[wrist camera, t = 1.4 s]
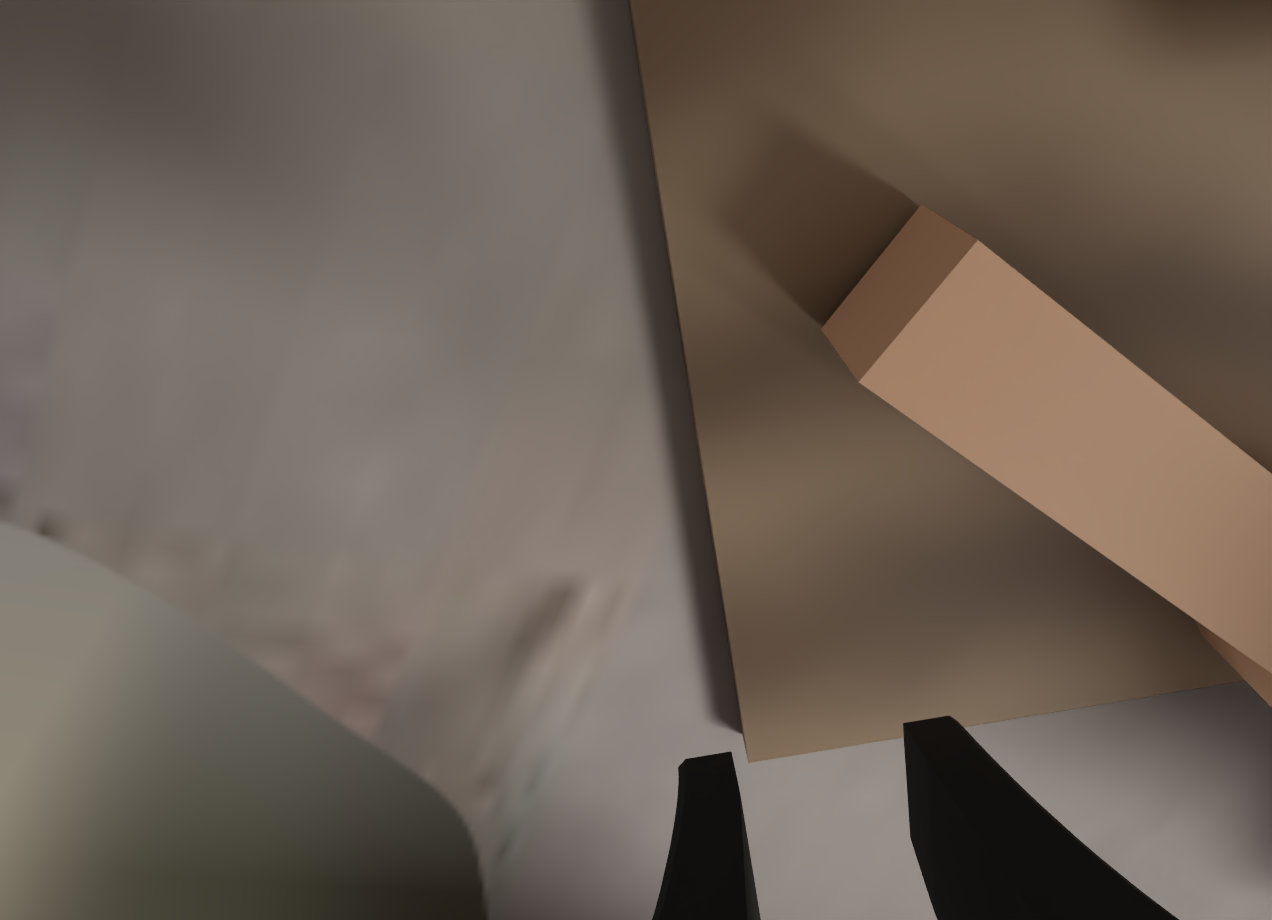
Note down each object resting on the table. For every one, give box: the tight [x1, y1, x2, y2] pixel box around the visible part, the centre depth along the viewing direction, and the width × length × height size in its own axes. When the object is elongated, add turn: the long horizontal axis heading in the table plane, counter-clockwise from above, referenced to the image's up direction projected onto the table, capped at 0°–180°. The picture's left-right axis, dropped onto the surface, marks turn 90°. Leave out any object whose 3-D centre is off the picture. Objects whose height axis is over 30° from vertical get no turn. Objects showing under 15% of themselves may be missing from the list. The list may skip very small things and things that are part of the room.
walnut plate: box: [628, 0, 1272, 763], centre depth 21 cm, size 20×17×1 cm
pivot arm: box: [821, 205, 1272, 708], centre depth 20 cm, size 15×4×4 cm, turn 55°
